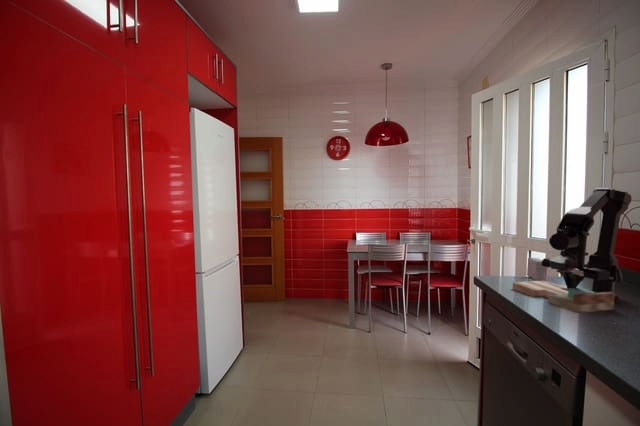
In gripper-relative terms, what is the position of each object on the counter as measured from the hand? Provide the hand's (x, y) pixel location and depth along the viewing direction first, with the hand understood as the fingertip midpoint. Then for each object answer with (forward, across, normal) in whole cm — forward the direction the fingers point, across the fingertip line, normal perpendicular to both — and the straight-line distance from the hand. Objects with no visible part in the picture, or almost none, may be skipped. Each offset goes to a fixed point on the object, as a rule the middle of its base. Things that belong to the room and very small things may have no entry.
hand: (570, 292), depth 105 cm
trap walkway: (+4, -4, 0) cm, 5 cm away
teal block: (+1, +4, 0) cm, 4 cm away
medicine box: (+4, -26, +16) cm, 31 cm away
